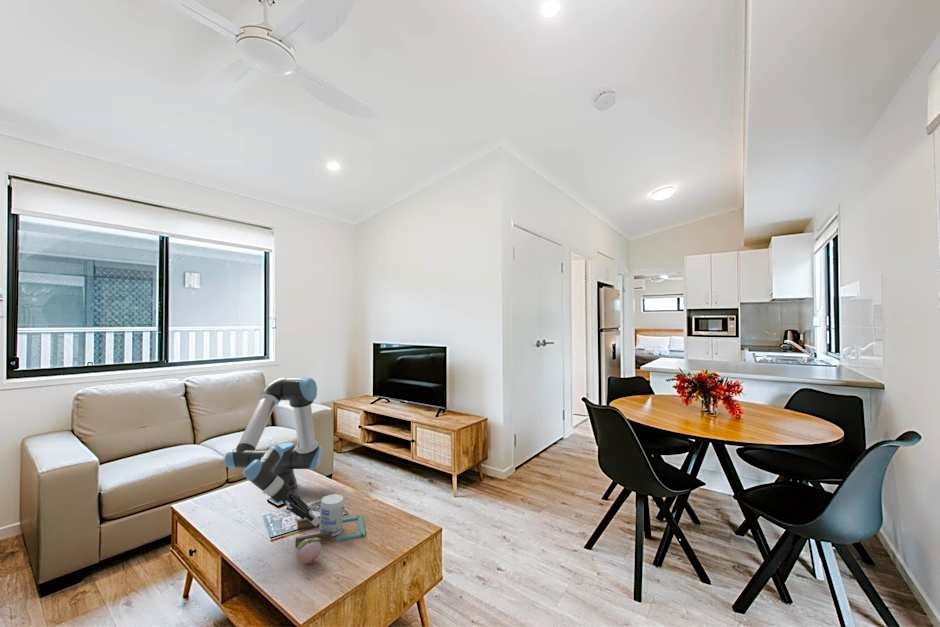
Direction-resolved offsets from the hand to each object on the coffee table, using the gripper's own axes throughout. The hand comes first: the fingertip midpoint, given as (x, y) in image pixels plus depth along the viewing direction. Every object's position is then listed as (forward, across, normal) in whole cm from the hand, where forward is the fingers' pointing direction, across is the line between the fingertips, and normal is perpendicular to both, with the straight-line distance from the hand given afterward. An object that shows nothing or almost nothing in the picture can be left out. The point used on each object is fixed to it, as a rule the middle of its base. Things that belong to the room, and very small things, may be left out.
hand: (318, 523), depth 169 cm
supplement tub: (+8, -1, 0) cm, 8 cm away
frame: (+13, -2, +5) cm, 14 cm away
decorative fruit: (+2, +18, -6) cm, 19 cm away
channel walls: (+3, -2, -5) cm, 6 cm away
